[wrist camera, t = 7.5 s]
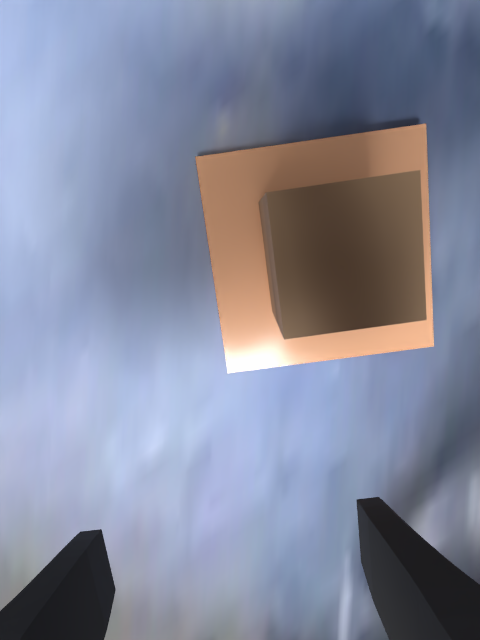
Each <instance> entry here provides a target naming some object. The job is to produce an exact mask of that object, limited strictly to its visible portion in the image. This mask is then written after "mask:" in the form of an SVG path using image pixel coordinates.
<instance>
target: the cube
mask: <svg viewBox="0 0 480 640" xmlns="http://www.w3.org/2000/svg"><path fill="white" fill-rule="evenodd" d="M259 210H260V218H261V226H262V234H263V242H264V250H265V258H266V266H267V273H268V281H269V289H270V297H271V305H272V312H273V314H274V317H275V319H276V322H277V324H278V326H279V329H280V331H281V333H282V336H283V338H284V340H285V339H292V338H300V337H307V336H314V335H321V334H329V333H336V332H343V331H351V330H358V329H365V328H372V327H380V326H387V325H394V324H402V323H409V322H416V321H423V320H427V315H426V292H425V268H424V245H423V221H422V198H421V174H420V170H416V171H409V172H403V173H396V174H389V175H382V176H375V177H368V178H362V179H355V180H348V181H341V182H334V183H327V184H320V185H314V186H307V187H300V188H293V189H286V190H279V191H273V192H266V193H265V195H264V196H263V197H262V198H261V200H260V201H259Z"/></svg>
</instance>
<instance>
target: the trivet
mask: <svg viewBox="0 0 480 640" xmlns="http://www.w3.org/2000/svg"><path fill="white" fill-rule="evenodd" d="M195 159H196V165H197V172H198V179H199V185H200V192H201V199H202V205H203V212H204V218H205V225H206V232H207V238H208V245H209V252H210V258H211V265H212V272H213V278H214V285H215V292H216V298H217V305H218V311H219V318H220V325H221V331H222V338H223V345H224V351H225V358H226V365H227V371H228V373H234V372H242V371H249V370H257V369H265V368H272V367H280V366H287V365H295V364H303V363H310V362H318V361H326V360H333V359H341V358H348V357H356V356H364V355H371V354H379V353H387V352H394V351H402V350H409V349H417V348H425V347H432V346H434V336H433V306H432V277H431V248H430V219H429V190H428V161H427V132H426V124H419V125H412V126H405V127H398V128H391V129H384V130H378V131H371V132H364V133H357V134H350V135H343V136H336V137H329V138H322V139H315V140H308V141H301V142H294V143H287V144H280V145H273V146H266V147H260V148H253V149H246V150H239V151H232V152H225V153H218V154H211V155H204V156H197V157H195ZM416 170H420V174H421V198H422V221H423V245H424V268H425V292H426V315H427V320H423V321H416V322H409V323H402V324H394V325H387V326H380V327H372V328H365V329H358V330H351V331H343V332H336V333H329V334H321V335H314V336H307V337H300V338H292V339H285V340H284V338H283V336H282V333H281V331H280V329H279V326H278V324H277V322H276V319H275V317H274V314H273V312H272V305H271V297H270V289H269V281H268V273H267V266H266V258H265V250H264V242H263V234H262V226H261V218H260V210H259V201H260V200H261V198H262V197H263V196H264V195H265V193H266V192H273V191H279V190H286V189H293V188H300V187H307V186H314V185H320V184H327V183H334V182H341V181H348V180H355V179H362V178H368V177H375V176H382V175H389V174H396V173H403V172H409V171H416Z"/></svg>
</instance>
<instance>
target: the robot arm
mask: <svg viewBox="0 0 480 640" xmlns="http://www.w3.org/2000/svg"><path fill="white" fill-rule="evenodd" d="M357 511H358V525H359V538H360V551H361V563H362V566H363V569H364V573H365V576H366V579H367V583H368V586H369V589H370V592H371V595H372V598H373V602H374V604H375V606H376V609H377V611H378V614H379V616H380V618H381V621H382V623H383V626H384V628H385V630H386V633H387V635H388V637H389V640H480V585H479V584H478V583H477V582H475V581H474V580H473V579H471V578H470V577H469V576H468V575H466V574H465V573H464V572H462V571H461V570H460V569H459V568H457V567H456V566H455V565H454V564H452V563H451V562H450V561H449V560H448V559H446V558H445V557H444V556H443V555H441V554H440V553H439V552H438V551H437V550H436V549H435V548H433V547H432V546H431V545H430V544H429V543H428V542H427V541H425V540H424V539H423V538H422V537H421V536H420V535H419V534H418V533H416V532H415V531H414V530H413V529H412V528H411V527H410V526H409V525H408V524H407V523H406V522H405V521H404V520H402V519H401V518H400V517H399V516H398V515H397V514H396V513H395V512H394V511H393V510H392V509H391V508H390V507H389V506H388V505H387V504H386V503H385V502H384V501H383V500H382V499H380V498H379V497H375V498H366V499H358V500H357ZM114 594H115V586H114V581H113V577H112V573H111V568H110V564H109V560H108V555H107V551H106V547H105V543H104V538H103V534H102V530H101V529H100V530H92V531H83V532H80V533H79V534H77V535H76V536H75V537H74V538H73V539H72V540H71V541H70V542H69V543H68V544H67V545H66V546H65V547H64V548H63V549H62V550H61V551H60V552H59V553H58V554H57V555H56V557H55V558H54V559H53V560H52V561H51V562H50V563H49V564H48V565H47V566H46V567H45V568H44V569H43V570H42V571H41V572H40V573H39V574H38V575H37V576H36V577H35V578H34V579H33V580H32V581H31V582H30V583H29V584H28V585H27V586H26V587H25V588H24V589H23V590H22V591H21V592H20V593H19V594H18V595H17V596H16V597H15V598H14V599H13V600H12V601H11V602H9V603H8V604H7V605H6V606H5V607H4V608H3V609H2V610H1V611H0V640H104V637H105V634H106V631H107V627H108V622H109V618H110V614H111V609H112V604H113V599H114Z"/></svg>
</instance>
